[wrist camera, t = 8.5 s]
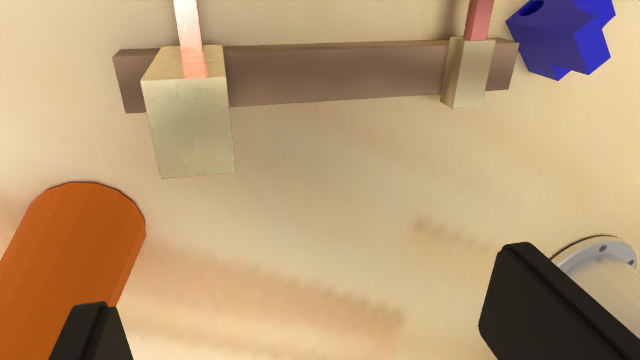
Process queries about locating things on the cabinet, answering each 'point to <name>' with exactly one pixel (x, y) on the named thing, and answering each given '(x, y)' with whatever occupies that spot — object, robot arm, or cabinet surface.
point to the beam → (353, 69)
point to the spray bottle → (64, 263)
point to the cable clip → (562, 35)
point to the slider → (189, 103)
